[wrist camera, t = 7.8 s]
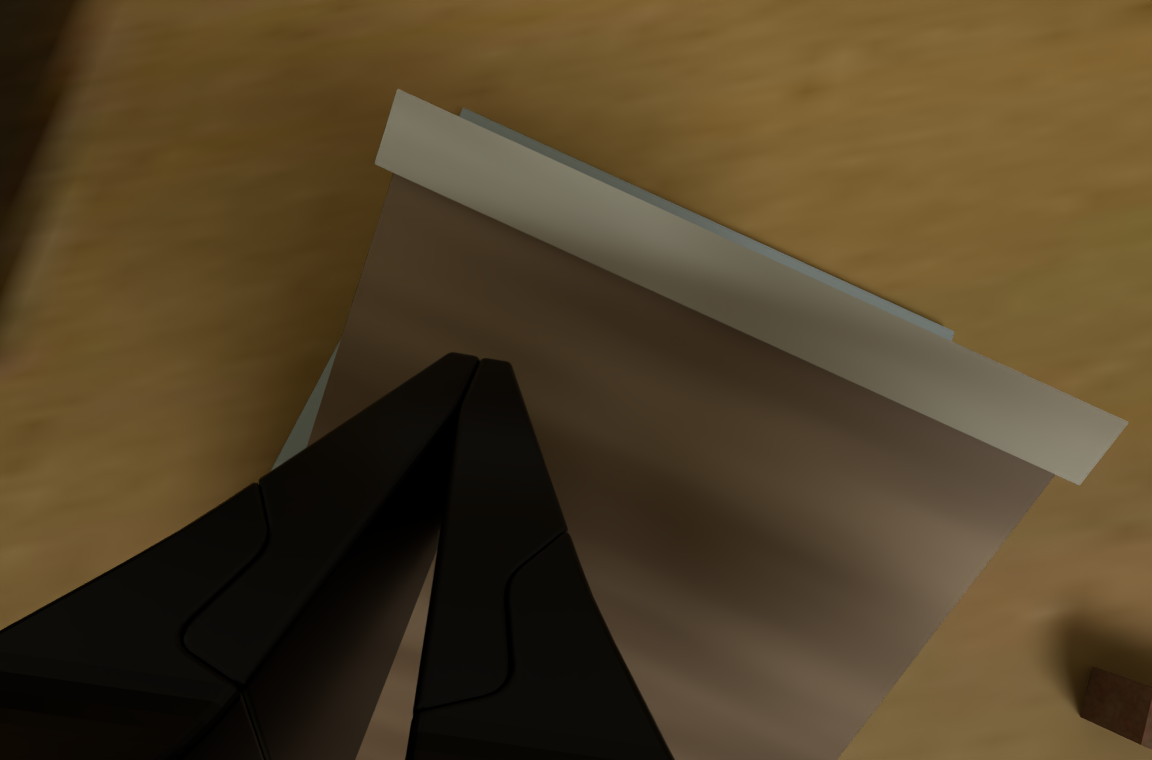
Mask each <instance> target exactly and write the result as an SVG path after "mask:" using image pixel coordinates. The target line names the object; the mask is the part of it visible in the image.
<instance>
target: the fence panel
mask: <svg viewBox="0 0 1152 760" xmlns="http://www.w3.org/2000/svg"><path fill="white" fill-rule="evenodd" d="M375 165H377V166H380V167H382V168H384V169H386V170H388V171H391V172H393V176H392V179H391V183H390V186H389V189H388V192H387V195H386V198H385V201H384V205H383V208H382V211H381V214H380V217H379V220H378V224H377V227H376V230H375V233H374V236H373V239H372V242H371V246H370V249H369V252H368V255H367V258H366V261H365V265H364V268H363V271H362V274H361V277H360V280H359V284H358V287H357V290H356V293H355V296H354V299H353V302H352V306H351V309H350V312H349V315H348V318H347V321H346V325H345V328H344V331H343V334H342V337H341V340H340V343H339V347H338V350H337V353H336V356H335V359H334V362H333V366H332V369H331V372H330V375H329V378H328V381H327V385H326V388H325V391H324V394H323V397H322V400H321V403H320V407H319V410H318V413H317V416H316V419H315V422H314V426H313V429H312V432H311V435H310V438H309V441H308V444H307V447H308V446H309V445H311V444H312V443H314V442H315V441H317V440H318V439H320V438H321V437H323V436H324V435H326V434H327V433H329V432H330V431H332V430H333V429H335V428H336V427H338V426H339V425H341V424H342V423H344V422H345V421H347V420H348V419H350V418H351V417H353V416H354V415H356V414H357V413H359V412H360V411H362V410H363V409H365V408H366V407H368V406H369V405H371V404H372V403H374V402H375V401H377V400H378V399H380V398H381V397H383V396H384V395H386V394H387V393H389V392H390V391H392V390H393V389H395V388H396V387H398V386H399V385H401V384H402V383H404V382H406V381H407V380H409V379H410V378H412V377H413V376H415V375H416V374H418V373H419V372H421V371H422V370H424V369H425V368H427V367H428V366H430V365H431V364H433V363H434V362H436V361H437V360H439V359H440V358H442V357H443V356H445V355H446V354H448V353H450V352H456V353H462V354H468V355H474V356H477V357H478V358H479V360H481V359H483V358H491V359H497V360H503V361H508V362H510V363H511V365H512V367H513V370H514V372H515V375H516V378H517V381H518V384H519V387H520V390H521V393H522V396H523V399H524V402H525V405H526V407H527V410H528V413H529V416H530V419H531V422H532V425H533V428H534V431H535V434H536V437H537V440H538V442H539V445H540V448H541V451H542V454H543V457H544V460H545V463H546V466H547V469H548V472H549V474H550V477H551V480H552V483H553V486H554V489H555V492H556V495H557V498H558V501H559V504H560V507H561V509H562V512H563V515H564V518H565V521H566V524H567V527H568V533H569V534H570V535H571V538H572V540H573V543H574V546H575V549H576V552H577V555H578V558H579V561H580V563H581V566H582V568H583V571H584V574H585V576H586V579H587V581H588V584H589V586H590V589H591V592H592V594H593V597H594V599H595V601H596V603H597V605H598V607H599V609H600V612H601V614H602V616H603V618H604V620H605V622H606V624H607V626H608V629H609V631H610V633H611V635H612V637H613V639H614V641H615V643H616V645H617V647H618V649H619V651H620V653H621V655H622V657H623V659H624V661H625V663H626V665H627V667H628V669H629V671H630V673H631V675H632V676H633V678H634V680H635V682H636V684H637V686H638V688H639V690H640V692H641V694H642V696H643V698H644V700H645V702H646V704H647V706H648V708H649V710H650V712H651V714H652V716H653V718H654V720H655V722H656V724H657V726H658V728H659V729H660V731H661V733H662V735H663V737H664V739H665V741H666V743H667V745H668V747H669V749H670V751H671V753H672V755H673V756H674V758H675V760H837V759H838V758H839V757H840V755H841V754H842V753H843V751H844V750H845V749H846V747H847V746H848V745H849V743H850V742H851V741H852V740H853V738H854V737H855V736H856V734H857V733H858V732H859V730H860V729H861V728H862V726H863V725H864V724H865V723H866V721H867V720H868V719H869V717H870V716H871V715H872V713H873V712H874V711H875V709H876V708H877V707H878V706H879V704H880V703H881V702H882V700H883V699H884V698H885V696H886V695H887V694H888V693H889V691H890V690H891V689H892V687H893V686H894V685H895V683H896V682H897V681H898V679H899V678H900V677H901V676H902V674H903V673H904V672H905V670H906V669H907V668H908V666H909V665H910V664H911V662H912V661H913V660H914V659H915V657H916V656H917V655H918V653H919V652H920V651H921V649H922V648H923V647H924V645H925V644H926V643H927V642H928V640H929V639H930V638H931V636H932V635H933V634H934V632H935V631H936V630H937V629H938V627H939V626H940V625H941V623H942V622H943V621H944V619H945V618H946V617H947V615H948V614H949V613H950V612H951V610H952V609H953V608H954V606H955V605H956V604H957V602H958V601H959V600H960V598H961V597H962V596H963V595H964V593H965V592H966V591H967V589H968V588H969V587H970V585H971V584H972V583H973V581H974V580H975V579H976V578H977V576H978V575H979V574H980V572H981V571H982V570H983V568H984V567H985V566H986V565H987V563H988V562H989V561H990V559H991V558H992V557H993V555H994V554H995V553H996V551H997V550H998V549H999V548H1000V546H1001V545H1002V544H1003V542H1004V541H1005V540H1006V538H1007V537H1008V536H1009V534H1010V533H1011V532H1012V531H1013V529H1014V528H1015V527H1016V525H1017V524H1018V523H1019V521H1020V520H1021V519H1022V517H1023V516H1024V515H1025V514H1026V512H1027V511H1028V510H1029V508H1030V507H1031V506H1032V504H1033V503H1034V502H1035V501H1036V499H1037V498H1038V497H1039V495H1040V494H1041V493H1042V491H1043V490H1044V489H1045V487H1046V486H1047V485H1048V484H1049V482H1050V481H1051V480H1052V478H1053V477H1054V476H1055V475H1058V476H1060V477H1062V478H1064V479H1066V480H1069V481H1071V482H1073V483H1075V484H1077V485H1080V484H1081V483H1082V482H1083V480H1084V479H1085V478H1086V477H1087V475H1088V474H1089V473H1090V472H1091V470H1092V469H1093V468H1094V466H1095V465H1096V464H1097V463H1098V461H1099V460H1100V459H1101V457H1102V456H1103V455H1104V454H1105V452H1106V451H1107V450H1108V449H1109V447H1110V446H1111V445H1112V443H1113V442H1114V441H1115V440H1116V438H1117V437H1118V436H1119V435H1120V433H1121V432H1122V431H1123V429H1124V428H1125V427H1126V426H1127V424H1128V423H1129V422H1127V421H1125V420H1123V419H1121V418H1119V417H1116V416H1114V415H1112V414H1110V413H1108V412H1106V411H1103V410H1101V409H1099V408H1097V407H1095V406H1092V405H1090V404H1088V403H1086V402H1084V401H1081V400H1079V399H1077V398H1075V397H1073V396H1070V395H1068V394H1066V393H1064V392H1062V391H1059V390H1057V389H1055V388H1053V387H1051V386H1049V385H1046V384H1044V383H1042V382H1040V381H1038V380H1035V379H1033V378H1031V377H1029V376H1027V375H1024V374H1022V373H1020V372H1018V371H1016V370H1013V369H1011V368H1009V367H1007V366H1005V365H1002V364H1000V363H998V362H996V361H994V360H991V359H989V358H987V357H985V356H983V355H981V354H978V353H976V352H974V351H972V350H970V349H967V348H965V347H963V346H961V345H959V344H956V343H954V342H952V341H950V340H948V339H945V338H943V337H941V336H939V335H937V334H934V333H932V332H930V331H928V330H926V329H924V328H921V327H919V326H917V325H915V324H913V323H910V322H908V321H906V320H904V319H902V318H899V317H897V316H895V315H893V314H891V313H888V312H886V311H884V310H882V309H880V308H877V307H875V306H873V305H871V304H869V303H867V302H864V301H862V300H860V299H858V298H856V297H853V296H851V295H849V294H847V293H845V292H842V291H840V290H838V289H836V288H834V287H831V286H829V285H827V284H825V283H823V282H820V281H818V280H816V279H814V278H812V277H810V276H807V275H805V274H803V273H801V272H799V271H796V270H794V269H792V268H790V267H788V266H785V265H783V264H781V263H779V262H777V261H774V260H772V259H770V258H768V257H766V256H763V255H761V254H759V253H757V252H755V251H752V250H750V249H748V248H746V247H744V246H742V245H739V244H737V243H735V242H733V241H731V240H728V239H726V238H724V237H722V236H720V235H717V234H715V233H713V232H711V231H709V230H706V229H704V228H702V227H700V226H698V225H695V224H693V223H691V222H689V221H687V220H685V219H682V218H680V217H678V216H676V215H674V214H671V213H669V212H667V211H665V210H663V209H660V208H658V207H656V206H654V205H652V204H649V203H647V202H645V201H643V200H641V199H638V198H636V197H634V196H632V195H630V194H628V193H625V192H623V191H621V190H619V189H617V188H614V187H612V186H610V185H608V184H606V183H603V182H601V181H599V180H597V179H595V178H592V177H590V176H588V175H586V174H584V173H581V172H579V171H577V170H575V169H573V168H571V167H568V166H566V165H564V164H562V163H560V162H557V161H555V160H553V159H551V158H549V157H546V156H544V155H542V154H540V153H538V152H535V151H533V150H531V149H529V148H527V147H524V146H522V145H520V144H518V143H516V142H513V141H511V140H509V139H507V138H505V137H503V136H500V135H498V134H496V133H494V132H492V131H489V130H487V129H485V128H483V127H481V126H478V125H476V124H474V123H472V122H470V121H467V120H465V119H463V118H461V117H459V116H456V115H454V114H452V113H450V112H448V111H446V110H443V109H441V108H439V107H437V106H435V105H432V104H430V103H428V102H426V101H424V100H421V99H419V98H417V97H415V96H413V95H410V94H408V93H406V92H404V91H402V90H399V89H397V92H396V95H395V98H394V102H393V105H392V108H391V111H390V115H389V118H388V121H387V125H386V128H385V131H384V134H383V138H382V141H381V144H380V147H379V151H378V154H377V157H376V160H375ZM436 555H437V551H436V554H435V556H434V559H433V561H432V564H431V567H430V569H429V572H428V574H427V577H426V579H425V582H424V585H423V587H422V590H421V592H420V595H419V597H418V600H417V603H416V605H415V608H414V610H413V613H412V615H411V618H410V621H409V623H408V626H407V628H406V631H405V633H404V636H403V639H402V641H401V644H400V646H399V649H398V651H397V654H396V657H395V659H394V662H393V664H392V667H391V669H390V672H389V675H388V677H387V680H386V682H385V685H384V687H383V690H382V693H381V695H380V698H379V700H378V703H377V705H376V708H375V711H374V713H373V716H372V718H371V721H370V723H369V726H368V729H367V731H366V734H365V736H364V739H363V741H362V744H361V747H360V749H359V752H358V754H357V757H356V759H355V760H405V756H406V750H407V744H408V738H409V732H410V726H411V721H412V718H413V706H414V699H415V693H416V686H417V680H418V673H419V667H420V660H421V653H422V647H423V640H424V634H425V627H426V621H427V614H428V607H429V601H430V594H431V588H432V581H433V575H434V568H435V561H436Z"/></svg>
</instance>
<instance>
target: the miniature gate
mask: <svg viewBox="0 0 1152 760" xmlns="http://www.w3.org/2000/svg"><path fill="white" fill-rule="evenodd" d="M1080 717H1082V718H1084V719H1086V720H1088V721H1091V722H1093V723H1095V724H1097V725H1099V726H1101V727H1104V728H1106V729H1108V730H1110V731H1112V732H1114V733H1117V734H1119V735H1121V736H1123V737H1125V738H1127V739H1130V740H1132V741H1134V742H1136V743H1138V744H1141V745H1143V746H1145V747H1148V748H1150V749H1152V687H1149V686H1146V685H1143V684H1141V683H1138V682H1135V681H1132V680H1129V679H1126V678H1124V677H1121V676H1118V675H1115V674H1112V673H1109V672H1106V671H1104V670H1101V669H1098V668H1095V667H1093V668H1092V672H1091V676H1090V680H1089V684H1088V688H1087V692H1086V696H1085V700H1084V704H1083V708H1082V712H1081V716H1080Z"/></svg>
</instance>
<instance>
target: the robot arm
mask: <svg viewBox="0 0 1152 760" xmlns="http://www.w3.org/2000/svg"><path fill="white" fill-rule="evenodd" d="M436 551H437V555H436V561H435V568H434V575H433V581H432V588H431V594H430V601H429V607H428V614H427V621H426V627H425V634H424V640H423V647H422V653H421V660H420V667H419V673H418V680H417V686H416V693H415V699H414V706H413V718H412V721H411V726H410V732H409V738H408V744H407V750H406V756H405V760H675V758H674V756H673V755H672V753H671V751H670V749H669V747H668V745H667V743H666V741H665V739H664V737H663V735H662V733H661V731H660V729H659V728H658V726H657V724H656V722H655V720H654V718H653V716H652V714H651V712H650V710H649V708H648V706H647V704H646V702H645V700H644V698H643V696H642V694H641V692H640V690H639V688H638V686H637V684H636V682H635V680H634V678H633V676H632V675H631V673H630V671H629V669H628V667H627V665H626V663H625V661H624V659H623V657H622V655H621V653H620V651H619V649H618V647H617V645H616V643H615V641H614V639H613V637H612V635H611V633H610V631H609V629H608V626H607V624H606V622H605V620H604V618H603V616H602V614H601V612H600V609H599V607H598V605H597V603H596V601H595V599H594V597H593V594H592V592H591V589H590V586H589V584H588V581H587V579H586V576H585V574H584V571H583V568H582V566H581V563H580V561H579V558H578V555H577V552H576V549H575V546H574V543H573V540H572V538H571V535H570V534H569V533H568V527H567V524H566V521H565V518H564V515H563V512H562V509H561V507H560V504H559V501H558V498H557V495H556V492H555V489H554V486H553V483H552V480H551V477H550V474H549V472H548V469H547V466H546V463H545V460H544V457H543V454H542V451H541V448H540V445H539V442H538V440H537V437H536V434H535V431H534V428H533V425H532V422H531V419H530V416H529V413H528V410H527V407H526V405H525V402H524V399H523V396H522V393H521V390H520V387H519V384H518V381H517V378H516V375H515V372H514V370H513V367H512V365H511V363H510V362H508V361H503V360H497V359H491V358H483V359H481V360H479V358H478V357H477V356H474V355H468V354H462V353H456V352H450V353H448V354H446V355H445V356H443V357H442V358H440V359H439V360H437V361H436V362H434V363H433V364H431V365H430V366H428V367H427V368H425V369H424V370H422V371H421V372H419V373H418V374H416V375H415V376H413V377H412V378H410V379H409V380H407V381H406V382H404V383H402V384H401V385H399V386H398V387H396V388H395V389H393V390H392V391H390V392H389V393H387V394H386V395H384V396H383V397H381V398H380V399H378V400H377V401H375V402H374V403H372V404H371V405H369V406H368V407H366V408H365V409H363V410H362V411H360V412H359V413H357V414H356V415H354V416H353V417H351V418H350V419H348V420H347V421H345V422H344V423H342V424H341V425H339V426H338V427H336V428H335V429H333V430H332V431H330V432H329V433H327V434H326V435H324V436H323V437H321V438H320V439H318V440H317V441H315V442H314V443H312V444H311V445H309V446H308V447H306V448H305V449H303V450H302V451H300V452H299V453H297V454H296V455H294V456H293V457H291V458H290V459H288V460H287V461H285V462H284V463H282V464H281V465H279V466H278V467H276V468H275V469H273V470H272V471H270V472H269V473H267V474H266V475H264V476H263V477H261V478H260V479H259V484H257V483H252V484H250V485H249V486H247V487H246V488H244V489H243V490H241V491H240V492H238V493H237V494H235V495H234V496H232V497H231V498H229V499H228V500H226V501H225V502H223V503H222V504H220V505H219V506H217V507H215V508H214V509H212V510H211V511H209V512H207V513H206V514H204V515H203V516H201V517H200V518H198V519H196V520H195V521H193V522H192V523H190V524H189V525H187V526H185V527H184V528H182V529H181V530H179V531H177V532H176V533H174V534H172V535H170V536H169V537H167V538H165V539H163V540H162V541H160V542H158V543H156V544H155V545H153V546H151V547H149V548H148V549H146V550H144V551H143V552H141V553H139V554H137V555H136V556H134V557H132V558H130V559H129V560H127V561H125V562H123V563H122V564H120V565H118V566H116V567H114V568H113V569H111V570H109V571H107V572H105V573H104V574H102V575H100V576H98V577H96V578H94V579H93V580H91V581H89V582H87V583H85V584H84V585H82V586H80V587H78V588H76V589H75V590H73V591H71V592H69V593H67V594H65V595H64V596H62V597H60V598H58V599H56V600H55V601H53V602H51V603H49V604H47V605H45V606H44V607H42V608H40V609H38V610H36V611H35V612H33V613H31V614H29V615H27V616H26V617H24V618H22V619H20V620H18V621H16V622H15V623H13V624H11V625H9V626H7V627H6V628H4V629H2V630H0V760H355V759H356V757H357V754H358V752H359V749H360V747H361V744H362V741H363V739H364V736H365V734H366V731H367V729H368V726H369V723H370V721H371V718H372V716H373V713H374V711H375V708H376V705H377V703H378V700H379V698H380V695H381V693H382V690H383V687H384V685H385V682H386V680H387V677H388V675H389V672H390V669H391V667H392V664H393V662H394V659H395V657H396V654H397V651H398V649H399V646H400V644H401V641H402V639H403V636H404V633H405V631H406V628H407V626H408V623H409V621H410V618H411V615H412V613H413V610H414V608H415V605H416V603H417V600H418V597H419V595H420V592H421V590H422V587H423V585H424V582H425V579H426V577H427V574H428V572H429V569H430V567H431V564H432V561H433V559H434V556H435V554H436Z"/></svg>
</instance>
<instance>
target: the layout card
mask: <svg viewBox="0 0 1152 760" xmlns="http://www.w3.org/2000/svg"><path fill="white" fill-rule="evenodd" d="M459 117H461V118H463V119H465V120H467V121H470V122H472V123H474V124H476V125H478V126H481V127H483V128H485V129H487V130H489V131H492V132H494V133H496V134H498V135H500V136H503V137H505V138H507V139H509V140H511V141H513V142H516V143H518V144H520V145H522V146H524V147H527V148H529V149H531V150H533V151H535V152H538V153H540V154H542V155H544V156H546V157H549V158H551V159H553V160H555V161H557V162H560V163H562V164H564V165H566V166H568V167H571V168H573V169H575V170H577V171H579V172H581V173H584V174H586V175H588V176H590V177H592V178H595V179H597V180H599V181H601V182H603V183H606V184H608V185H610V186H612V187H614V188H617V189H619V190H621V191H623V192H625V193H628V194H630V195H632V196H634V197H636V198H638V199H641V200H643V201H645V202H647V203H649V204H652V205H654V206H656V207H658V208H660V209H663V210H665V211H667V212H669V213H671V214H674V215H676V216H678V217H680V218H682V219H685V220H687V221H689V222H691V223H693V224H695V225H698V226H700V227H702V228H704V229H706V230H709V231H711V232H713V233H715V234H717V235H720V236H722V237H724V238H726V239H728V240H731V241H733V242H735V243H737V244H739V245H742V246H744V247H746V248H748V249H750V250H752V251H755V252H757V253H759V254H761V255H763V256H766V257H768V258H770V259H772V260H774V261H777V262H779V263H781V264H783V265H785V266H788V267H790V268H792V269H794V270H796V271H799V272H801V273H803V274H805V275H807V276H810V277H812V278H814V279H816V280H818V281H820V282H823V283H825V284H827V285H829V286H831V287H834V288H836V289H838V290H840V291H842V292H845V293H847V294H849V295H851V296H853V297H856V298H858V299H860V300H862V301H864V302H867V303H869V304H871V305H873V306H875V307H877V308H880V309H882V310H884V311H886V312H888V313H891V314H893V315H895V316H897V317H899V318H902V319H904V320H906V321H908V322H910V323H913V324H915V325H917V326H919V327H921V328H924V329H926V330H928V331H930V332H932V333H934V334H937V335H939V336H941V337H943V338H945V339H948V340H950V341H952V338H953V335H954V331H952V330H950V329H948V328H946V327H943V326H941V325H939V324H937V323H935V322H932V321H930V320H928V319H926V318H924V317H921V316H919V315H917V314H915V313H913V312H911V311H908V310H906V309H904V308H902V307H900V306H897V305H895V304H893V303H891V302H889V301H886V300H884V299H882V298H880V297H878V296H875V295H873V294H871V293H869V292H867V291H864V290H862V289H860V288H858V287H856V286H854V285H851V284H849V283H847V282H845V281H843V280H840V279H838V278H836V277H834V276H832V275H829V274H827V273H825V272H823V271H821V270H818V269H816V268H814V267H812V266H810V265H807V264H805V263H803V262H801V261H799V260H797V259H794V258H792V257H790V256H788V255H786V254H783V253H781V252H779V251H777V250H775V249H772V248H770V247H768V246H766V245H764V244H761V243H759V242H757V241H755V240H753V239H750V238H748V237H746V236H744V235H742V234H740V233H737V232H735V231H733V230H731V229H729V228H726V227H724V226H722V225H720V224H718V223H715V222H713V221H711V220H709V219H707V218H704V217H702V216H700V215H698V214H696V213H693V212H691V211H689V210H687V209H685V208H683V207H680V206H678V205H676V204H674V203H672V202H669V201H667V200H665V199H663V198H661V197H658V196H656V195H654V194H652V193H650V192H647V191H645V190H643V189H641V188H639V187H636V186H634V185H632V184H630V183H628V182H626V181H623V180H621V179H619V178H617V177H615V176H612V175H610V174H608V173H606V172H604V171H601V170H599V169H597V168H595V167H593V166H590V165H588V164H586V163H584V162H582V161H579V160H577V159H575V158H573V157H571V156H568V155H566V154H564V153H562V152H560V151H558V150H555V149H553V148H551V147H549V146H547V145H544V144H542V143H540V142H538V141H536V140H533V139H531V138H529V137H527V136H525V135H522V134H520V133H518V132H516V131H514V130H511V129H509V128H507V127H505V126H503V125H501V124H498V123H496V122H494V121H492V120H490V119H487V118H485V117H483V116H481V115H479V114H476V113H474V112H472V111H470V110H468V109H465V108H463V109H462V111H461V113H460V115H459ZM340 340H341V339H340ZM339 343H340V341H339ZM339 343H338V345H337V347H336V349H335V350H334V352H333V354H332V356H331V358H330V360H329V362H328V364H327V366H326V367H325V369H324V371H323V373H322V375H321V377H320V379H319V381H318V383H317V384H316V386H315V388H314V390H313V392H312V394H311V396H310V398H309V400H308V401H307V403H306V405H305V407H304V409H303V411H302V413H301V415H300V416H299V418H298V420H297V422H296V424H295V426H294V428H293V430H292V432H291V433H290V435H289V437H288V439H287V441H286V443H285V445H284V447H283V449H282V450H281V452H280V454H279V456H278V458H277V460H276V462H275V464H274V466H273V467H272V469H271V471H272V470H273V469H275V468H276V467H278V466H279V465H281V464H282V463H284V462H285V461H287V460H288V459H290V458H291V457H293V456H294V455H296V454H297V453H299V452H300V451H302V450H303V449H305V448H306V447H307V444H308V441H309V438H310V435H311V432H312V429H313V426H314V422H315V419H316V416H317V413H318V410H319V407H320V403H321V400H322V397H323V394H324V391H325V388H326V385H327V381H328V378H329V375H330V372H331V369H332V366H333V362H334V359H335V356H336V353H337V350H338V347H339Z"/></svg>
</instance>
